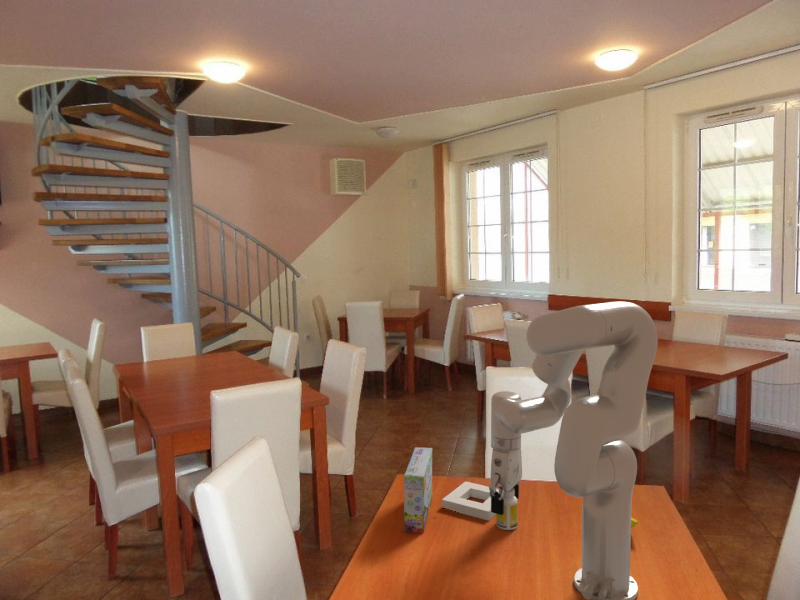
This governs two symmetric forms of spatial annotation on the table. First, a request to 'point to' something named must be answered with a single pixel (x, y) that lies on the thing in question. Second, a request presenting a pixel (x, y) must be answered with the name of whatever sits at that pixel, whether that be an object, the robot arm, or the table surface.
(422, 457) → the snack box
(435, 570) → the table surface
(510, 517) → the supplement bottle
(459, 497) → the holder plate
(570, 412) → the robot arm
